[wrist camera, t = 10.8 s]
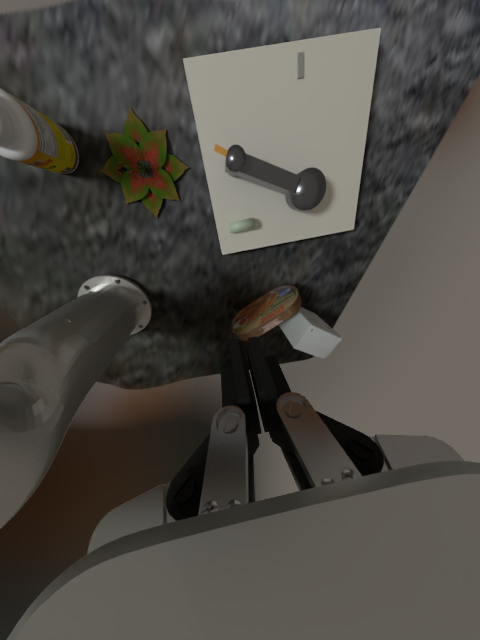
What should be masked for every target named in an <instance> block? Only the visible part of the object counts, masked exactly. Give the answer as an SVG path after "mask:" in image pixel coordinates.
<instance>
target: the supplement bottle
mask: <svg viewBox="0 0 480 640" xmlns="http://www.w3.org/2000/svg"><path fill="white" fill-rule="evenodd" d="M0 155H1V156H3V157H6V158H8V159H11V160H14V161H18V162H22V163H25V164H28V165H32V166H35V167H39V168H42V169H46V170H49V171H53V172H56V173H60V174H68V173H71V172H73V171H74V170H75V169H76V168H77V166H78V163H79V153H78V149H77V147H76V144H75V142H74V141H73V139H72V137H71V136H70V135H69V134H68V132H67V131H66V130H65V129H64V128H62V127H61V126H60V125H59V124H57V123H56V122H54V121H53V120H51V119H49V118H48V117H46V116H45V115H43V114H41V113H40V112H38V111H37V110H35V109H33V108H32V107H30V106H28V105H27V104H25V103H24V102H22V101H20V100H19V99H17V98H15V97H14V96H12V95H11V94H9V93H7V92H6V91H4V90H2V89H1V88H0Z"/></svg>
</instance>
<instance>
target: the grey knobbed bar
mask: <svg viewBox="0 0 480 640" xmlns="http://www.w3.org/2000/svg"><path fill="white" fill-rule="evenodd" d="M225 172H226V173H228V174H229V175H230V176H233V177H234V176H237V177H240V178H242V179H245V180H248V181H250V182H253V183H256V184H258V185H261V186H264V187H266V188H269V189H272V190H274V191H277V192H280V193H282V194H285V198H286V202H287V204H288V206H289V207H290V208H291V209H293V210H295V211H303V210H311V209H313V208H315V207H316V206H317V205H318V204H319V203H320V202H321V201H322V199H323V197H324V195H325V191H326V179H325V176H324V174H323V173H322V172H321V171H320V170H319V169H317V168H314V167H311V168H307V169H305V170H303V171H301V172H299V173H297V174H294V173H292V172H290V171H287V170H285V169H282V168H280V167H277V166H275V165H273V164H270V163H268V162H265V161H263V160H261V159H258V158H256V157H253V156H251V155H248V154H246V153H245V151H244V149H243V148H242V147H241V146H240V145H232V146H231V147H230V148H229V149H228V152H227V156H226V160H225Z"/></svg>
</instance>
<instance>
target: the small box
mask: <svg viewBox="0 0 480 640" xmlns="http://www.w3.org/2000/svg"><path fill="white" fill-rule="evenodd" d="M279 326H280V328H281V329H282V331H283V332H284V334H285V335H286V337H287V338H288V340H289V342H290V343H291V345H292V346H293V348H294V349H297V350H300V351H302V352H305V353H308V354H311V355H313V356H316V357H319V358H322V359H325V358H326V357H327V356H328V355H329V354H330V353H331V352H332V351H333V349H334V348H335V347H336V346H337V345H338V344H339V343H340V341H341V340H342V337H341V336H340V335H338V334H337V333H336V332H335V331H334V330H333V329H332V328H331V327H330V326H329V325H327V324H326V323H325V322H324V321H323V320H322V319H321V318H320V317H319V316H317V315H316V314H315V313H313V312H311V311H308V310H306V309H304V308H302V307H300V309H299V310H298V312H297V313H296V314H295V315H294V316H292V317H291V318H289V319H288V320H286V321H285V322H283V323H281V324H280V325H279Z"/></svg>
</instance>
